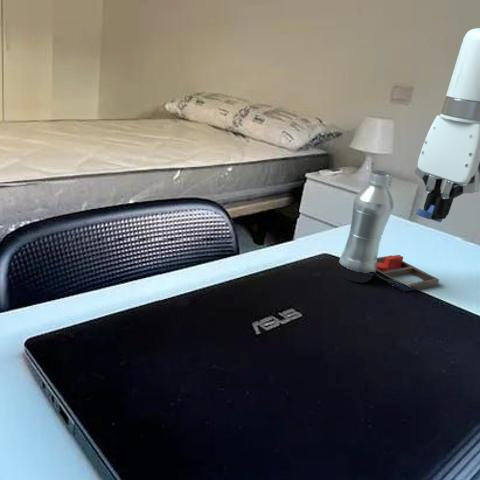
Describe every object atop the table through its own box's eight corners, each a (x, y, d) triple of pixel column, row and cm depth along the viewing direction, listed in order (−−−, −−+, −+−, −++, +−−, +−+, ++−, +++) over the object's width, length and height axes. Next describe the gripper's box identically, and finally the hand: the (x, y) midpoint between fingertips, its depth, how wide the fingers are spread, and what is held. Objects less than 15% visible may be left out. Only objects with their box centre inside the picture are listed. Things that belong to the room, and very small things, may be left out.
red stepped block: (392, 264, 97) (396, 253, 96) (403, 269, 95) (406, 258, 94) (370, 268, 95) (373, 256, 94) (380, 273, 93) (384, 262, 92)
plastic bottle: (378, 280, 91) (408, 174, 83) (363, 291, 87) (394, 181, 79) (344, 267, 95) (370, 165, 87) (328, 278, 91) (354, 171, 83)
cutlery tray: (389, 263, 99) (391, 255, 98) (436, 288, 90) (439, 279, 90) (357, 269, 95) (359, 260, 95) (403, 295, 87) (405, 286, 86)
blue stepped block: (432, 219, 90) (438, 206, 90) (444, 223, 88) (450, 211, 88) (413, 213, 87) (419, 200, 87) (424, 218, 85) (431, 205, 85)
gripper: (530, 120, 76) (488, 231, 83) (441, 103, 89) (411, 201, 96) (500, 120, 73) (459, 235, 80) (412, 102, 86) (384, 203, 93)
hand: (433, 216), depth 88 cm, fingers closed on blue stepped block, 1 cm apart
